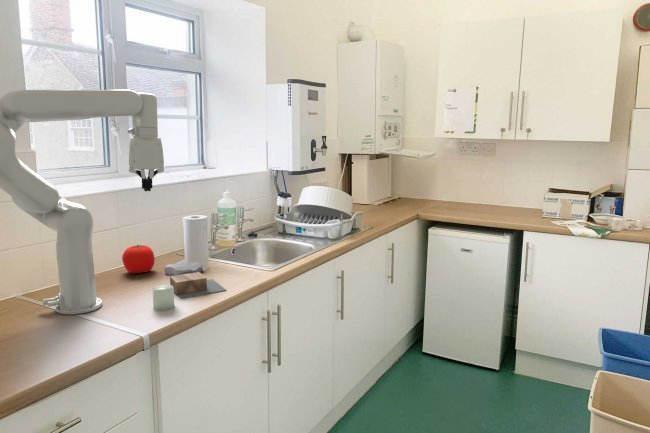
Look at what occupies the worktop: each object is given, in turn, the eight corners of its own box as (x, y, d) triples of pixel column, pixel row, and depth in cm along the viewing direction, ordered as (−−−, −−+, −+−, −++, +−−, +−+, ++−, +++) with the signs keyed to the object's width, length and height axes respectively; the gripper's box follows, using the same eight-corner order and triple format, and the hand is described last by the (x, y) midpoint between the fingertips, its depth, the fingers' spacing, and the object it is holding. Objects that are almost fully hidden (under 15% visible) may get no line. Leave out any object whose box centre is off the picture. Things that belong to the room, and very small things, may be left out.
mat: (181, 298, 158) (181, 297, 158) (169, 286, 169) (169, 285, 169) (226, 290, 165) (226, 289, 165) (212, 279, 177) (212, 279, 177)
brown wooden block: (176, 282, 159) (206, 277, 164) (169, 276, 166) (199, 272, 171) (176, 295, 160) (207, 290, 165) (170, 288, 167) (199, 283, 172)
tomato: (151, 266, 194) (150, 240, 192) (158, 274, 184) (157, 246, 182) (120, 270, 188) (119, 243, 186) (126, 278, 178) (124, 250, 176)
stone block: (205, 276, 188) (188, 266, 194) (206, 264, 187) (189, 255, 193) (178, 284, 179) (162, 274, 185) (179, 272, 178) (163, 262, 183)
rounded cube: (156, 311, 146) (154, 292, 145) (151, 305, 151) (150, 286, 150) (176, 308, 149) (175, 289, 148) (171, 302, 154) (170, 283, 153)
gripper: (121, 132, 151) (124, 192, 153) (172, 133, 158) (173, 191, 161) (118, 132, 157) (120, 190, 160) (167, 133, 164) (168, 189, 167)
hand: (147, 190), depth 160 cm, fingers closed
